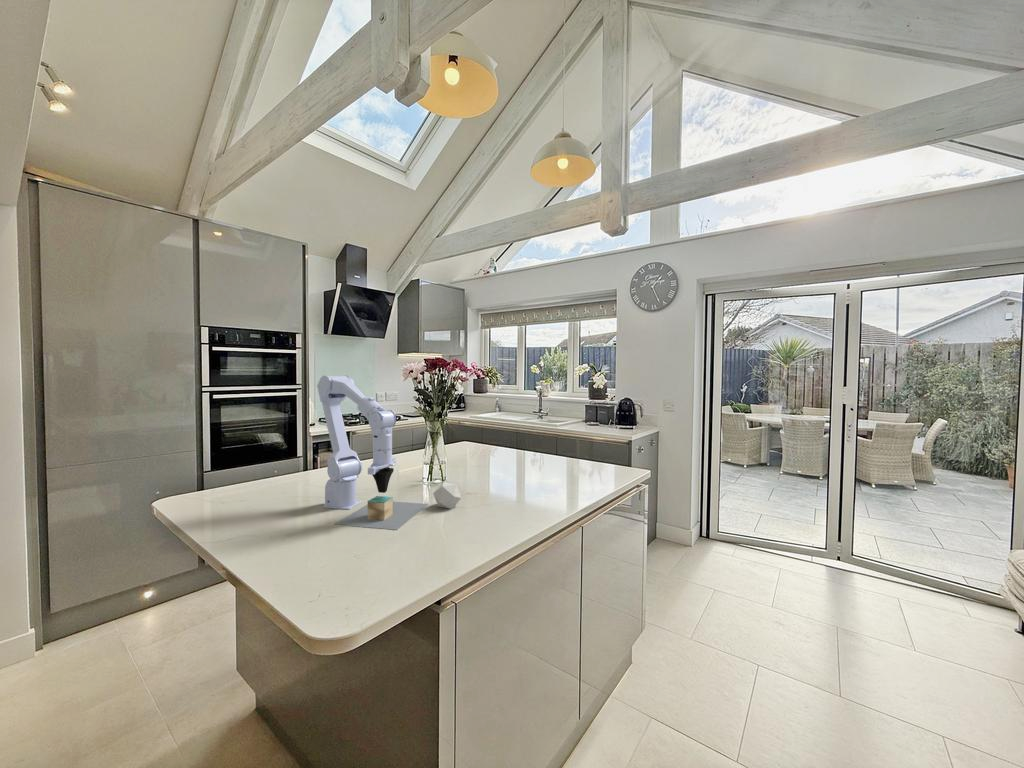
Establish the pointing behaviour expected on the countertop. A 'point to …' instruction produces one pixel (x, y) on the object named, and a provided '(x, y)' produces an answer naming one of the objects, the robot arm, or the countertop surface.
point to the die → (447, 495)
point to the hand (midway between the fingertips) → (382, 492)
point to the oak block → (380, 508)
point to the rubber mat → (394, 522)
